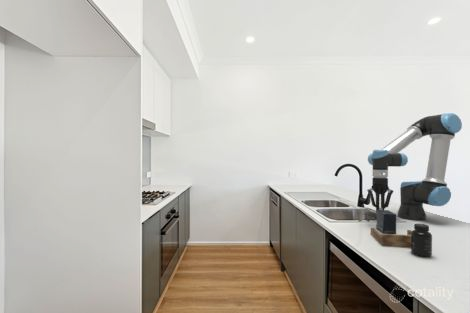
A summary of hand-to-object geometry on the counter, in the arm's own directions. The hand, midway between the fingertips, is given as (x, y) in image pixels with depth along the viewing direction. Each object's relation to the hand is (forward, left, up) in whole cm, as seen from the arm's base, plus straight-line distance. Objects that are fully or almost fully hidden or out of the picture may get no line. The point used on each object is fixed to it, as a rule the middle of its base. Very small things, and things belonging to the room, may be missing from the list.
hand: (380, 219), depth 143 cm
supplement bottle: (-3, +40, -4) cm, 40 cm away
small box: (0, +9, -4) cm, 10 cm away
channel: (0, +23, -4) cm, 23 cm away
